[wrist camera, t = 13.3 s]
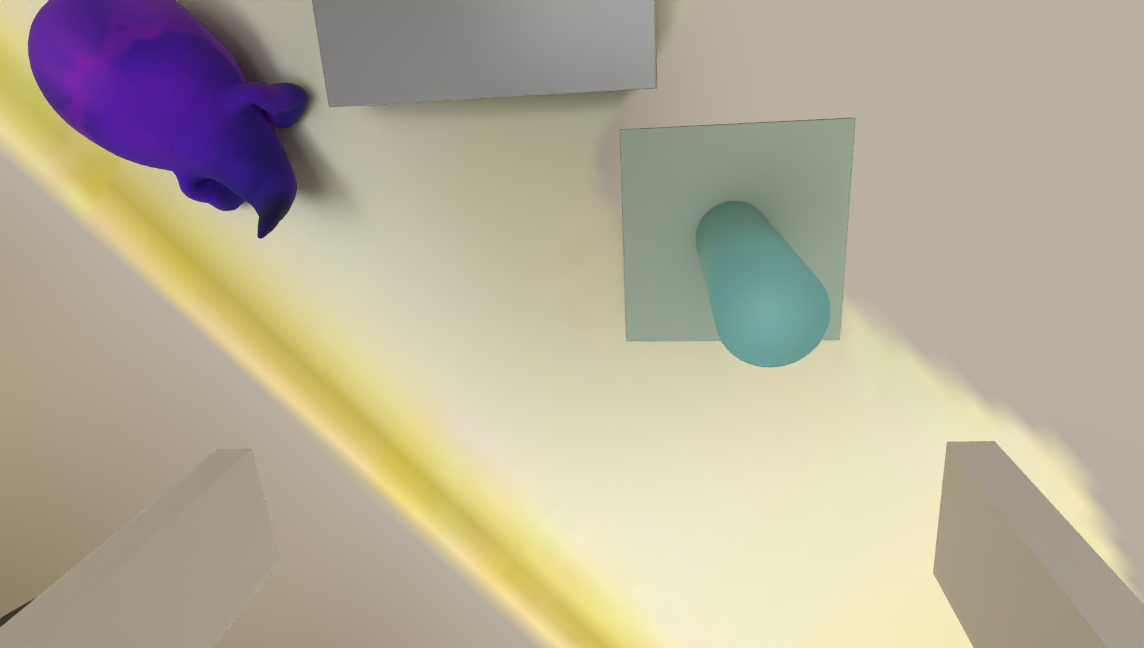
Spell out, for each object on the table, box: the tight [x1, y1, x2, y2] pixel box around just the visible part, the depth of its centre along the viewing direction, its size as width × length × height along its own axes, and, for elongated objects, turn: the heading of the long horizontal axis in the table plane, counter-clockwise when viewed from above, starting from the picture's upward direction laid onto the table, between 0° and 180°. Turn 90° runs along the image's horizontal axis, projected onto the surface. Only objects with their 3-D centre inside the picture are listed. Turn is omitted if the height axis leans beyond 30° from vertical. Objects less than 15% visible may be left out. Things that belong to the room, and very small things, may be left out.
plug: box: [696, 201, 830, 367], centre depth 31 cm, size 4×4×14 cm
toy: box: [28, 0, 307, 239], centre depth 36 cm, size 9×10×15 cm
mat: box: [620, 118, 855, 341], centre depth 38 cm, size 12×12×1 cm
